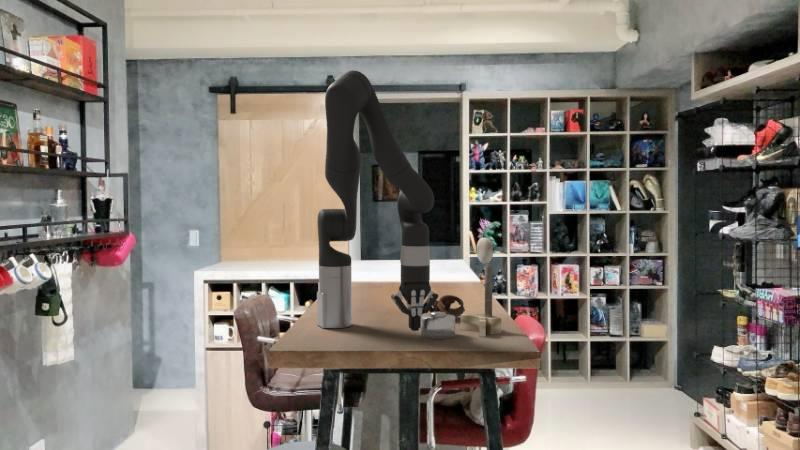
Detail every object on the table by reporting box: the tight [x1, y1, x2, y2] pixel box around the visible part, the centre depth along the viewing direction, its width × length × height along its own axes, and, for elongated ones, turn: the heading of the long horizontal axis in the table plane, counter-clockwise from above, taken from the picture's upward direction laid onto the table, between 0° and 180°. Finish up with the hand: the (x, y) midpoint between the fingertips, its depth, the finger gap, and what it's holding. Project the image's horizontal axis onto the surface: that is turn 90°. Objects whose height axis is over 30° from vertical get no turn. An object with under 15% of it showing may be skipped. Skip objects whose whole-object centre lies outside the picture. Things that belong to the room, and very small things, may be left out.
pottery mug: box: [428, 294, 466, 318], centre depth 192 cm, size 12×10×8 cm
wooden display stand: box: [460, 237, 502, 337], centre depth 173 cm, size 7×12×26 cm, turn 23°
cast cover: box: [420, 312, 456, 340], centre depth 168 cm, size 9×9×6 cm
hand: (414, 330), depth 165 cm, fingers closed
